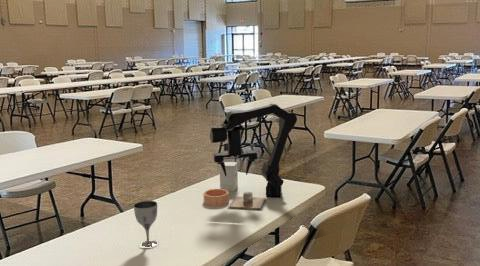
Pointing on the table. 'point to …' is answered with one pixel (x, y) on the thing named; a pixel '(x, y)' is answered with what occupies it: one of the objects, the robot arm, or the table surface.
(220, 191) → the bowl
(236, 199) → the lid
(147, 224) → the wine glass
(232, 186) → the supplement box
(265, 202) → the mat
